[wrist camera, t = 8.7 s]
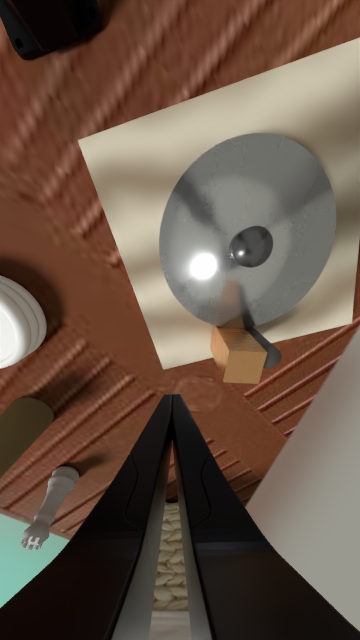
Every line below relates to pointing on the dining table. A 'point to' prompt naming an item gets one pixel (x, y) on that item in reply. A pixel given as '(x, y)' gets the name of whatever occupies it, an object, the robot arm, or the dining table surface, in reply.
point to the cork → (21, 428)
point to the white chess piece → (50, 506)
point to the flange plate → (247, 202)
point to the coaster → (19, 323)
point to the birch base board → (201, 135)
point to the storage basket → (170, 583)
